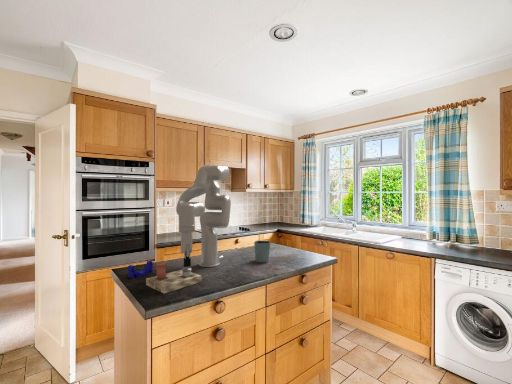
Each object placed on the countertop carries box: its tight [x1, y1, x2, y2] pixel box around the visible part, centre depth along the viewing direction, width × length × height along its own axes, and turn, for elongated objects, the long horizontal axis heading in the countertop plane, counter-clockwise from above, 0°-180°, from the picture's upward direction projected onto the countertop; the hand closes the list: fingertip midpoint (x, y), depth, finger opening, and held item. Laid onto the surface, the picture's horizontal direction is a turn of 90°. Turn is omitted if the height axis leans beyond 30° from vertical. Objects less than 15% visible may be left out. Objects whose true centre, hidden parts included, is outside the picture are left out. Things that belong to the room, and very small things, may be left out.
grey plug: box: [181, 266, 192, 278], centre depth 131 cm, size 5×5×6 cm
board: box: [145, 269, 202, 294], centre depth 130 cm, size 20×16×3 cm
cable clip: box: [127, 260, 154, 280], centre depth 143 cm, size 12×4×6 cm, turn 143°
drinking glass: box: [253, 240, 271, 264], centre depth 171 cm, size 10×10×12 cm
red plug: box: [155, 262, 167, 279], centre depth 128 cm, size 5×5×6 cm
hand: (187, 266), depth 132 cm, fingers closed
